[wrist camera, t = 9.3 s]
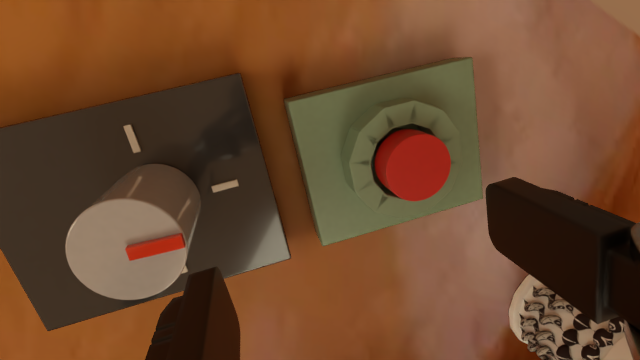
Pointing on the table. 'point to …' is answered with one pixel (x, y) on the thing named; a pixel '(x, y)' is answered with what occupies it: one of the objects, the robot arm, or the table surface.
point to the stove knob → (136, 233)
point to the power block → (368, 134)
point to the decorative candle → (563, 327)
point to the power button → (412, 164)
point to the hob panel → (115, 161)
